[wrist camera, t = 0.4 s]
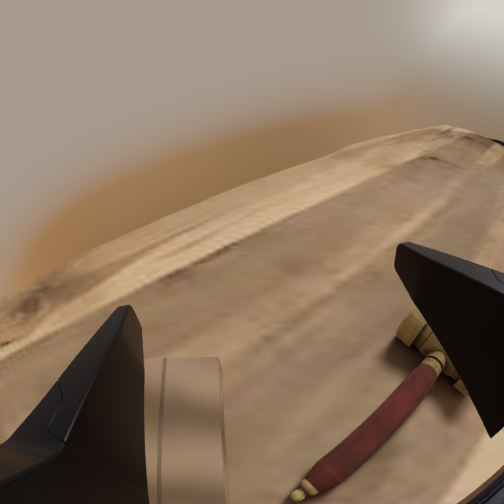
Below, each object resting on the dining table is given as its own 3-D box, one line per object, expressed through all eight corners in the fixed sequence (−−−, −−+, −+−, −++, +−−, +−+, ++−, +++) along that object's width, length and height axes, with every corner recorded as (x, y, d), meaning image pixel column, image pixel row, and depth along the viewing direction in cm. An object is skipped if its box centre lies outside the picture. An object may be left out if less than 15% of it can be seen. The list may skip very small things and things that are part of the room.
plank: (243, 625, 5) (241, 637, 4) (109, 605, 5) (95, 611, 3) (221, 370, 23) (218, 356, 22) (114, 370, 23) (103, 356, 21)
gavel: (341, 546, 10) (246, 447, 16) (329, 536, 13) (252, 454, 19) (501, 348, 18) (428, 288, 24) (478, 370, 21) (413, 316, 27)
